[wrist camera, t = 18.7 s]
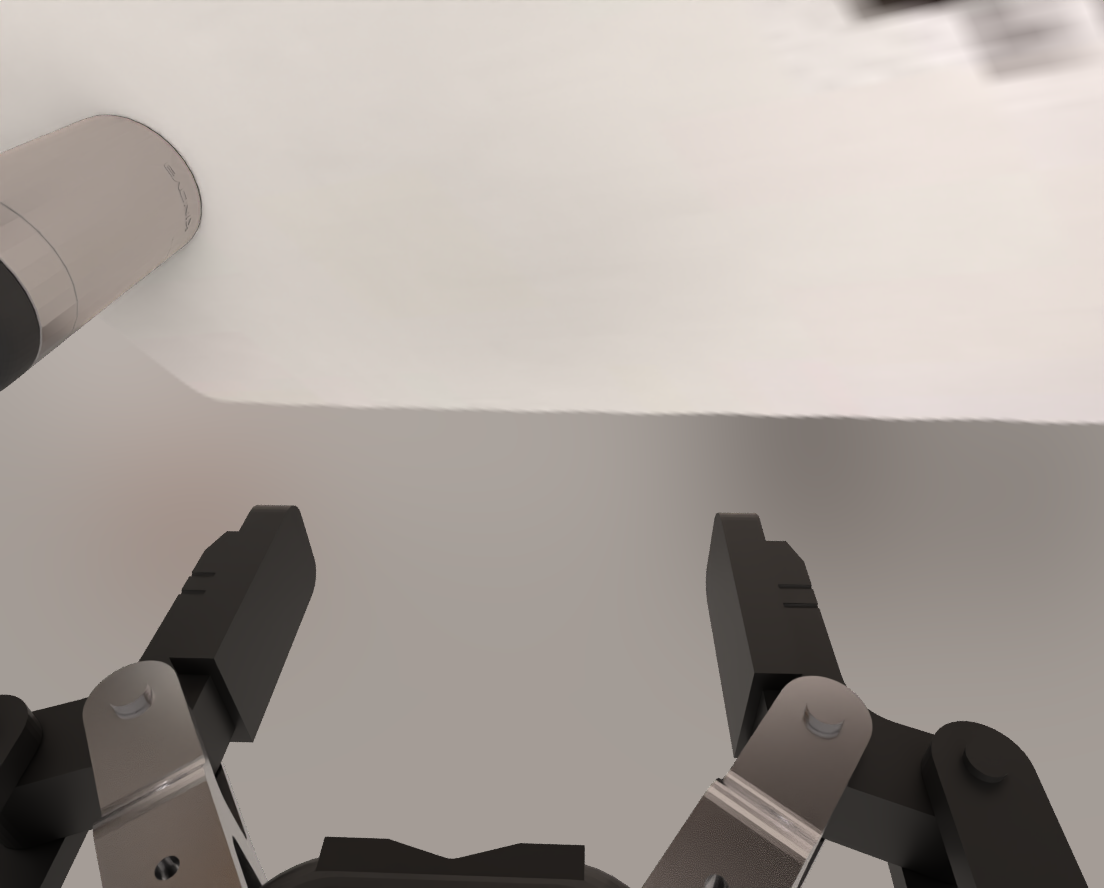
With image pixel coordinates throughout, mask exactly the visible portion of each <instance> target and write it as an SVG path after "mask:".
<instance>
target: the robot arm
mask: <svg viewBox="0 0 1104 888" xmlns="http://www.w3.org/2000/svg"><path fill="white" fill-rule="evenodd" d="M200 217H201V202H200V197H199V192H198V188H197V185H196V183H195V181H194V178H193V176H192V173H191V172H190V170H189V169H188V167H187V165H186V164H185V162H184V160H183V159H182V158H181V157H180V155H179V154H178V153H177V152H176V151H175V150H174V148H173V147H172V146H171V145H170V144H169V143H167V142H166V141H165V140H164V139H163V138H162V137H161V136H159V135H158V134H157V133H155V132H154V131H152V130H150V129H149V128H147V127H146V126H144V125H142V124H140V123H137V122H135V121H132V120H130V119H128V118H123V117H118V116H113V115H97V116H94V117H90V118H86V119H83V120H81V121H79V122H76V123H74V124H71V125H69V126H66V127H64V128H61V129H59V130H57V131H54V132H52V133H49V134H46V135H44V136H41V137H39V138H36V139H34V140H31V141H29V142H27V143H24V144H22V145H19V146H17V147H14V148H12V149H10V150H7V151H5V152H2V153H0V391H2V390H3V389H5V388H6V387H7V386H8V385H10V384H11V383H12V382H14V381H15V380H16V379H17V378H19V377H20V376H21V375H22V374H24V373H25V372H26V371H27V370H28V369H30V368H31V367H32V366H34V365H35V364H36V363H37V362H39V361H40V360H41V359H42V358H44V357H45V356H46V355H47V354H49V353H50V352H51V351H52V350H54V349H55V348H56V347H57V346H59V345H60V344H61V343H62V342H64V341H65V339H67V338H68V337H69V336H71V335H72V334H73V333H75V332H76V331H77V330H78V329H80V328H81V327H82V326H83V325H84V324H86V323H87V322H88V321H90V320H91V319H92V318H94V317H95V316H96V315H97V314H99V313H100V312H101V311H102V310H104V309H105V308H106V307H107V306H109V305H110V304H111V303H113V302H114V301H115V300H116V299H118V298H119V297H120V296H121V295H123V294H124V293H125V292H126V291H128V290H129V289H130V288H131V287H133V286H134V285H135V284H136V283H138V282H139V281H140V280H142V279H143V278H144V277H145V276H147V275H148V274H149V273H150V272H152V271H153V270H154V269H156V268H157V267H158V266H159V265H161V264H162V263H163V262H164V261H166V260H167V259H168V258H170V257H171V256H172V255H173V254H175V253H176V252H177V251H178V250H180V249H181V248H182V247H183V246H184V245H186V244H187V243H188V242H189V241H190V240H191V239H192V237H193V236H194V234H195V232H196V231H197V229H198V225H199V221H200ZM315 580H316V565H315V560H314V556H313V553H312V549H311V546H310V543H309V539H308V536H307V533H306V529H305V526H304V523H303V519H302V516H301V513H300V511H299V509H298V507H296V506H287V505H284V506H283V505H282V506H281V505H256V506H254V507H253V508H252V510H251V511H250V512H249V514H248V516H247V518H246V519H245V521H244V523H243V525H242V527H241V528H240V530H239V532H238V531H237V532H236V531H234V532H233V531H227V532H226V533H224V534H223V535H222V536H221V537H220V538H219V539H217V540H216V541H215V542H214V543H213V544H212V545H211V546H210V547H208V548H207V549H206V550H205V551H204V553H203V554H202V556H201V558H200V559H199V561H198V563H197V565H196V566H195V568H194V570H193V571H192V576H190V577H189V578H188V580H187V581H186V583H185V585H184V587H183V588H182V593H181V594H179V595H178V596H177V598H176V600H175V601H174V603H173V605H172V607H171V608H170V610H169V612H168V613H167V615H166V617H165V618H164V620H163V622H162V624H161V625H160V627H159V628H158V630H157V632H156V634H155V635H154V637H153V639H152V640H151V642H150V644H149V645H148V647H147V649H146V651H145V652H144V654H143V656H142V657H141V659H140V660H139V662H137V663H133V664H130V665H127V666H125V667H122V668H121V669H119V670H117V671H115V672H113V673H112V674H110V675H109V676H107V677H106V678H105V679H104V680H102V682H100V683H99V684H98V685H97V686H96V687H95V688H94V690H93V691H92V692H91V694H90V695H89V697H87V698H84V699H81V700H77V701H73V702H69V703H65V704H61V705H57V706H53V707H49V708H45V709H41V710H37V711H33V712H31V711H30V709H29V708H28V707H27V705H26V704H25V703H24V702H23V701H22V700H21V699H19V698H18V697H16V696H11V695H0V888H61V886H62V884H63V882H64V880H65V878H66V876H67V874H68V872H69V870H70V868H71V866H72V864H73V861H74V859H75V857H76V855H77V853H78V851H79V849H80V847H81V845H82V843H83V841H84V838H85V837H86V834H87V832H88V830H91V829H93V837H94V843H95V849H96V854H97V859H98V865H99V870H100V876H101V881H102V886H103V888H629V887H628V886H627V885H626V884H624V883H622V882H621V881H619V880H618V879H616V878H615V877H613V876H611V875H609V874H607V873H605V872H603V871H601V870H599V869H597V868H594V867H591V866H587V865H585V864H584V862H585V861H584V860H585V853H584V852H585V847H584V845H557V844H528V843H526V844H525V843H520V844H515V845H511V846H507V847H502V848H499V849H494V850H490V851H486V852H482V853H477V854H473V855H469V856H465V857H461V858H455V859H448V858H444V857H441V856H438V855H435V854H432V853H429V852H426V851H423V850H420V849H417V848H414V847H411V846H408V845H405V844H402V843H399V842H396V841H393V840H390V839H377V838H376V839H375V838H347V837H325V839H324V842H323V846H322V849H321V853H320V856H319V858H315V859H312V860H309V861H306V862H304V863H301V864H299V865H296V866H294V867H292V868H290V869H288V870H286V871H284V872H282V873H280V874H279V875H277V876H275V877H274V878H272V879H271V880H269V881H267V878H266V876H265V873H264V871H263V869H262V867H261V865H260V863H259V860H258V858H257V855H256V853H255V850H254V848H253V845H252V842H251V839H250V836H249V834H248V831H247V828H246V825H245V823H244V819H243V817H242V814H241V811H240V808H239V805H238V802H237V800H236V797H235V794H234V791H233V788H232V786H231V783H230V780H229V777H228V774H227V771H226V769H225V766H224V764H223V762H222V759H223V756H224V754H225V752H226V749H227V747H228V745H229V742H253V741H254V738H255V736H256V733H257V731H258V728H259V726H260V723H261V721H262V718H263V716H264V713H265V711H266V708H267V706H268V703H269V701H270V698H271V696H272V693H273V691H274V688H275V686H276V683H277V681H278V678H279V676H280V673H281V671H282V668H283V666H284V663H285V661H286V658H287V656H288V653H289V651H290V648H291V646H292V643H293V641H294V638H295V636H296V633H297V631H298V628H299V626H300V623H301V621H302V618H303V616H304V613H305V611H306V609H307V606H308V603H309V601H310V598H311V596H312V593H313V590H314V586H315ZM706 595H707V603H708V609H709V615H710V621H711V626H712V632H713V638H714V644H715V650H716V656H717V662H718V667H719V673H720V678H721V685H722V691H723V697H724V702H725V708H726V714H727V720H728V725H729V731H730V737H731V742H732V749H733V755H734V758H737V759H736V761H735V762H734V764H733V766H732V767H731V769H730V770H729V772H728V773H727V774H726V776H725V777H724V778H723V779H720V778H718V779H716V780H715V781H714V782H713V783H712V784H711V785H710V787H709V788H708V789H707V791H706V792H705V793H704V795H703V796H702V798H701V799H700V801H699V803H698V804H697V805H696V807H695V808H694V810H693V811H692V813H691V814H690V816H689V817H688V819H687V820H686V822H685V824H684V825H683V826H682V828H681V829H680V831H679V833H678V834H677V835H676V837H675V838H674V840H673V841H672V843H671V844H670V846H669V847H668V849H667V850H666V852H665V853H664V855H663V856H662V858H661V859H660V861H659V862H658V864H657V865H656V867H655V868H654V870H653V871H652V873H651V874H650V876H649V877H648V879H647V880H646V882H645V883H644V885H643V887H642V888H802V886H803V884H804V882H805V880H806V878H807V876H808V874H809V872H810V870H811V868H812V866H813V864H814V862H815V860H816V858H817V857H818V854H819V853H820V850H821V848H822V847H823V845H824V842H825V841H826V839H827V840H830V841H832V842H835V843H838V844H840V845H843V846H846V847H849V848H851V849H854V850H857V851H859V852H862V853H865V854H868V855H871V856H873V857H876V858H879V859H881V860H884V861H887V862H888V865H889V869H890V873H891V877H892V880H893V884H894V888H1088V886H1087V884H1086V881H1085V879H1084V877H1083V875H1082V873H1081V870H1080V868H1079V866H1078V864H1077V861H1076V859H1075V857H1074V855H1073V853H1072V850H1071V848H1070V846H1069V844H1068V842H1067V839H1066V837H1065V835H1064V833H1063V831H1062V828H1061V826H1060V824H1059V822H1058V819H1057V817H1056V815H1055V813H1054V811H1053V808H1052V806H1051V804H1050V802H1049V800H1048V798H1047V795H1046V793H1045V791H1044V789H1043V786H1042V784H1041V782H1040V780H1039V777H1038V775H1037V773H1036V771H1035V769H1034V767H1033V765H1032V763H1031V762H1030V760H1029V759H1028V757H1027V756H1026V754H1025V753H1024V752H1023V751H1022V750H1021V749H1020V748H1019V747H1018V746H1017V745H1016V744H1015V743H1014V742H1013V741H1012V740H1010V739H1009V738H1008V737H1006V736H1005V735H1003V734H1002V733H1000V732H998V731H996V730H995V729H993V728H990V727H988V726H985V725H982V724H979V723H975V722H968V721H957V722H951V723H949V724H946V725H944V726H943V727H941V728H940V729H939V730H938V731H937V732H936V733H935V735H934V734H930V733H927V732H924V731H921V730H918V729H914V728H911V727H908V726H905V725H901V724H898V723H895V722H892V721H890V720H887V719H885V718H883V717H880V716H878V715H876V714H875V713H873V712H871V711H870V710H869V709H867V707H866V706H865V704H864V703H863V701H862V700H861V699H860V698H859V697H858V696H857V695H856V694H855V693H854V692H853V691H852V690H851V689H849V688H848V687H847V686H846V685H845V683H844V681H843V678H842V676H841V673H840V670H839V667H838V664H837V661H836V658H835V655H834V652H833V649H832V646H831V643H830V640H829V637H828V633H827V631H826V627H825V624H824V621H823V619H822V615H821V612H820V609H819V608H818V606H817V605H818V603H817V600H816V597H815V594H814V591H813V589H812V588H811V582H810V579H809V576H808V573H807V570H806V566H805V563H804V561H803V560H802V559H801V558H800V557H799V556H798V554H797V553H796V552H795V551H794V550H793V549H792V548H791V546H790V545H789V544H788V543H787V542H786V541H766V540H765V537H764V533H763V529H762V526H761V522H760V519H759V516H758V515H757V514H756V513H717V514H716V516H715V519H714V526H713V532H712V538H711V544H710V551H709V557H708V564H707V571H706Z"/></svg>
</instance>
